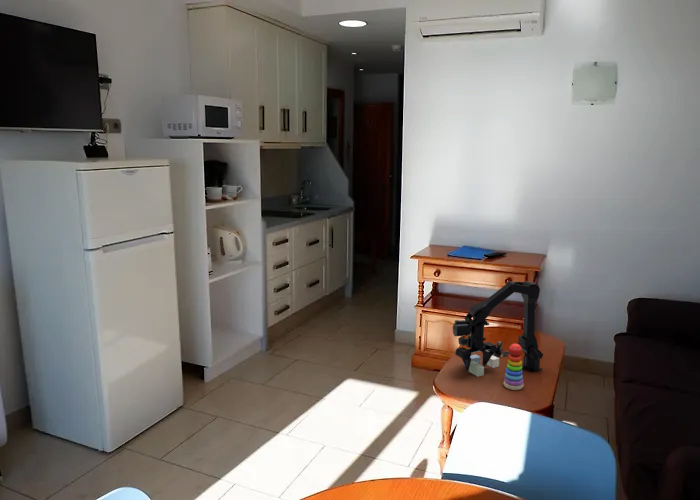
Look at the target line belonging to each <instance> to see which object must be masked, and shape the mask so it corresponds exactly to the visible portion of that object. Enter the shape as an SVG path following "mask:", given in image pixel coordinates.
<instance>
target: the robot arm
mask: <svg viewBox="0 0 700 500" xmlns="http://www.w3.org/2000/svg"><path fill="white" fill-rule="evenodd" d="M540 289H541V287H539V285H538V284H536V283H534V282H533V281H530V280H525V281H512V280H510V281H507V282H506V283H505V284H504V285H503V286H502V287H501V288H499V289H498V290H497V291H496V292H494V293H493V294H492V295H491V296H489V297H488V298H486V299H485V300H484V301H483V300H482V301H480V302H478V303H475V304H473V305H472V306H471V307H470V308H469V311H468V313H467V314H466V316H465V317H464V318H463V319H462V320H461V319H460V320H458V319H457V320H454V323H453V326H452V334H453V336H454V337H458V340H457V341H458V344H459V345H461V346H462V347H458V348H456V349H455V356H457V357H459V358H461V359H462V363H463V362H464V365H465V366H464V365H463V366H464V367H465V370H466V372H469V367H470V362H471V358H470V356H471V355H472V354H476V353H479V352H482V366H484V368H485V367H486V366H487V365H486V364H487V363H488V361H489V359H490V358H491V357H492V355H493V354H495V352H497V344H494V343H492V342H490V341H487V340H486V338H487V337H485V326H490V323H489V322H488V321H487V318H488V317H489V316H490V315H491V312H492V311H493V309H495V308H496V307H497V306H498V305H501V303H502V302H504V301H505V300H506V299H508V298H509V297H510V296H512V295H513V294H514V293H516V294H521V297H522V299H523V329H522V330H523V332H522V334H521V335H517V336H518V342H517V344H519V345H520V346H521V348H522V353H524V356H523V363H522V369H524V370H526V371H528V372H530V373H535V372H538V371H542V370H543V368H542V367H540V363H541V359H543V357H544V353H542V351H541V350H540V349H539V343H538V340H537V337H536V334H535V333H536V331H535V330H536V304H537V302H538V299H539V297H540V292H541V290H540ZM472 318H473V319H472ZM465 336H466V337H465ZM485 341H486V342H485ZM464 346H466V348H465V347H464Z"/></svg>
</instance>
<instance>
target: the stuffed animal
mask: <svg viewBox="0 0 700 500" xmlns="http://www.w3.org/2000/svg"><path fill="white" fill-rule="evenodd" d="M495 345H496V346H497V352H495V354H493V356H495V357H497V358H499V359H503V358H504V357H507V358H509V355H510V352H509V350H505V351H503V349H504V348H503V342H502V341H497V342H496V344H495Z"/></svg>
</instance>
